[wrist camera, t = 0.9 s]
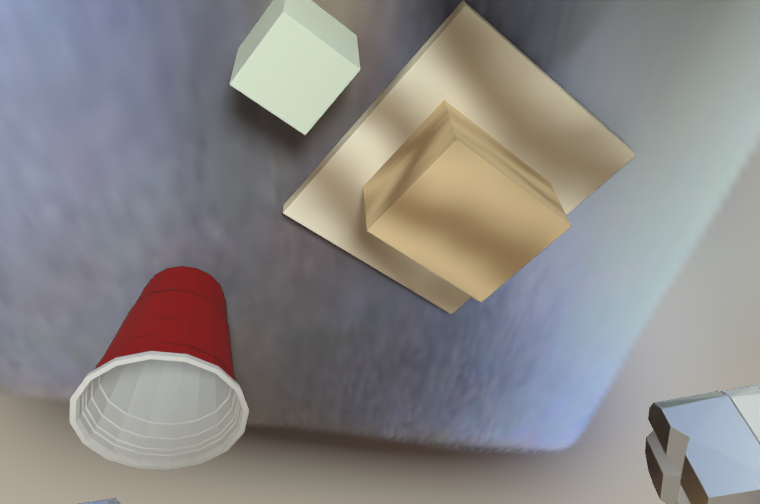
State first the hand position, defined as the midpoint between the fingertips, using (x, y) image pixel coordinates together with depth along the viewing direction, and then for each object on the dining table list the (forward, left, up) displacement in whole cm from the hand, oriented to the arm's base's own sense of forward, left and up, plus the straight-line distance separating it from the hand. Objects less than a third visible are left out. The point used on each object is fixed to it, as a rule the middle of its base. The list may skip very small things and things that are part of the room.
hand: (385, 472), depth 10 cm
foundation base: (+8, +16, -34) cm, 38 cm away
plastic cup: (+28, +7, -34) cm, 44 cm away
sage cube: (+7, +2, -34) cm, 34 cm away
